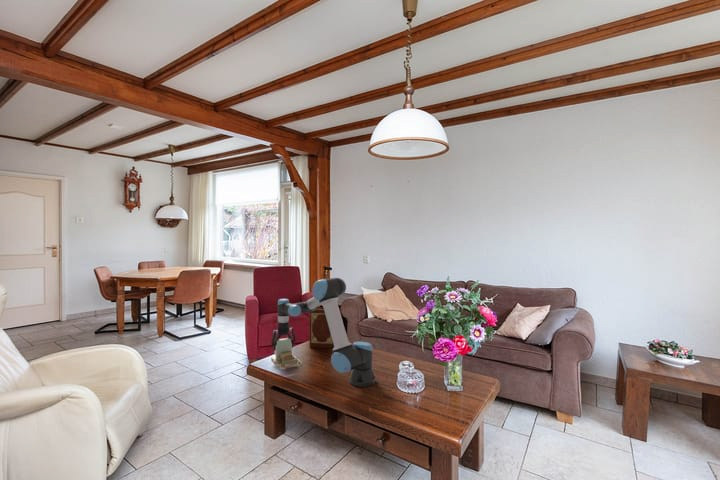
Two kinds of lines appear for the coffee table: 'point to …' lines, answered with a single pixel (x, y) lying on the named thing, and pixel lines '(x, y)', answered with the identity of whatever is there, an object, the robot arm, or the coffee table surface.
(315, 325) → the decorative book
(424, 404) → the coffee table surface
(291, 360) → the rack
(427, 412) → the coffee table surface
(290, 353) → the offcut oak
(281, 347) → the sage board
